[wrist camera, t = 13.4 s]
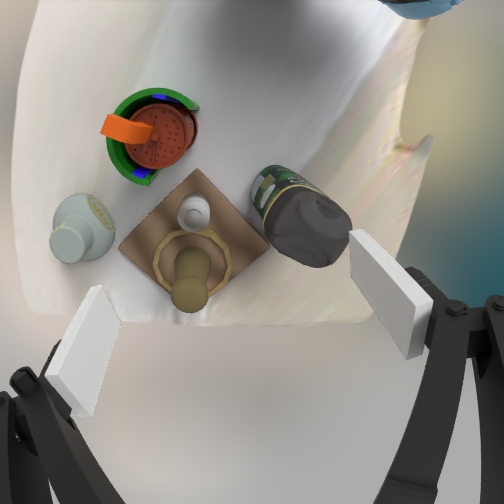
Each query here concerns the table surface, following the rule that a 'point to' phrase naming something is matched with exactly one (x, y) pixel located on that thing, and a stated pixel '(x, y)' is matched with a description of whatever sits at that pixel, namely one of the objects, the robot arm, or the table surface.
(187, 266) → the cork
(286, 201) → the coffee jar
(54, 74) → the table surface
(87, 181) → the table surface
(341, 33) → the table surface
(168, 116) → the motor
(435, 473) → the robot arm
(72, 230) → the air freshener
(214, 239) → the carrier board
